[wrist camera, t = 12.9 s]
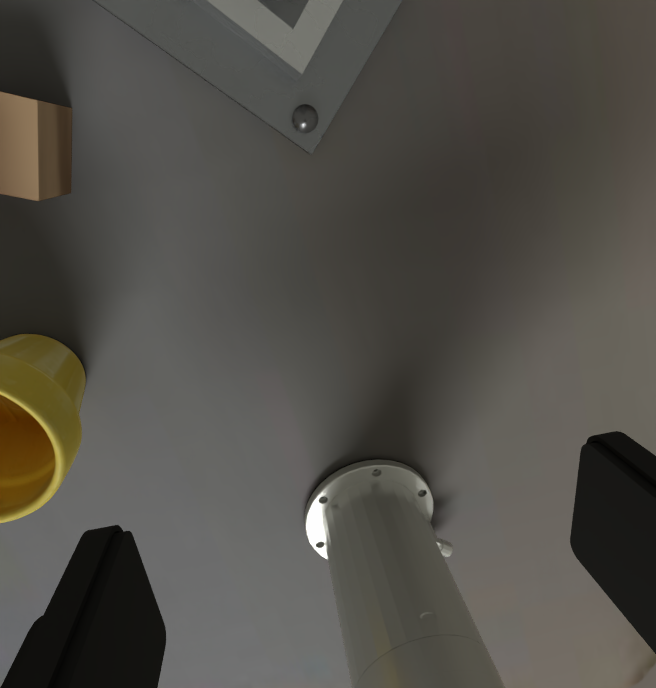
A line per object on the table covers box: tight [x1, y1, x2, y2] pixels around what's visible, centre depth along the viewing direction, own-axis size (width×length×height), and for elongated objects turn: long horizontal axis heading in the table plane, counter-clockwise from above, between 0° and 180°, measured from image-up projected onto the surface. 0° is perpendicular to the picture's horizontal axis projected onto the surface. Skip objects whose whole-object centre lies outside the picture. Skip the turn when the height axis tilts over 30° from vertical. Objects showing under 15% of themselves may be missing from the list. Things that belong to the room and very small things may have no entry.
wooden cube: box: [0, 91, 72, 201], centre depth 25 cm, size 5×5×5 cm
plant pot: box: [0, 334, 86, 523], centre depth 29 cm, size 10×10×10 cm
